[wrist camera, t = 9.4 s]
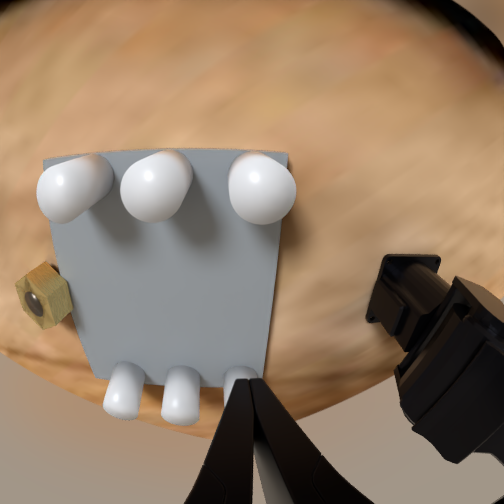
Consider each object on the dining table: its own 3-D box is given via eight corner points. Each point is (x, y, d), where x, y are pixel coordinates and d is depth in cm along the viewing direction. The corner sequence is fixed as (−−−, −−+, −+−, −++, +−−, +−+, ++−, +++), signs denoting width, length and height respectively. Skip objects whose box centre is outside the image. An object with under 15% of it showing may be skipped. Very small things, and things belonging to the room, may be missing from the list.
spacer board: (284, 152, 17) (309, 163, 12) (259, 378, 25) (267, 424, 20) (50, 157, 15) (3, 173, 10) (98, 370, 23) (83, 412, 19)
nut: (63, 266, 17) (41, 282, 15) (77, 321, 19) (60, 338, 17) (30, 256, 18) (10, 269, 16) (44, 307, 20) (27, 322, 18)
